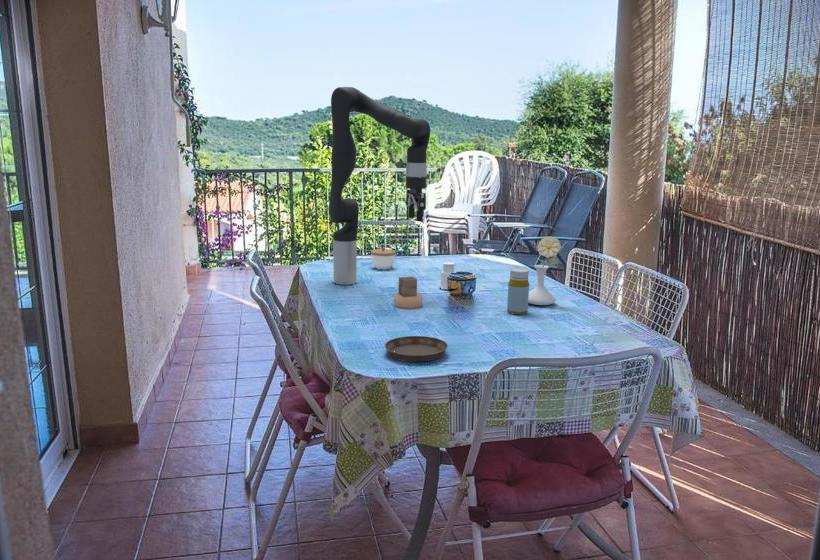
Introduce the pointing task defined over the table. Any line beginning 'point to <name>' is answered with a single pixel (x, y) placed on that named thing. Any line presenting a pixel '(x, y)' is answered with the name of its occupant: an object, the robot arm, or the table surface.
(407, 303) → the terracotta puck
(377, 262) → the lidded jar
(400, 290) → the walnut block
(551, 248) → the flower in vase
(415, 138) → the robot arm
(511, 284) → the bottle
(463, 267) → the table surface
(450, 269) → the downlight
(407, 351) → the plant saucer
